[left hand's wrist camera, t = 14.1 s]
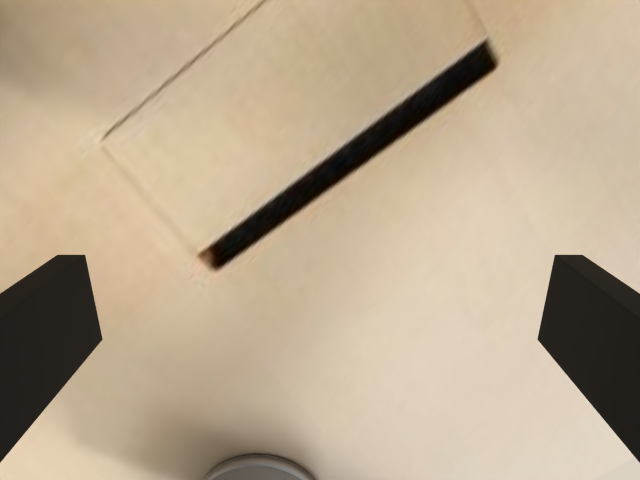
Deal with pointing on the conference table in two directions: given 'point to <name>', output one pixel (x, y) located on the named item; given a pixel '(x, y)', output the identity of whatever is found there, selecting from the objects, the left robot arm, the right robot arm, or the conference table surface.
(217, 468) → the left robot arm
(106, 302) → the conference table surface
